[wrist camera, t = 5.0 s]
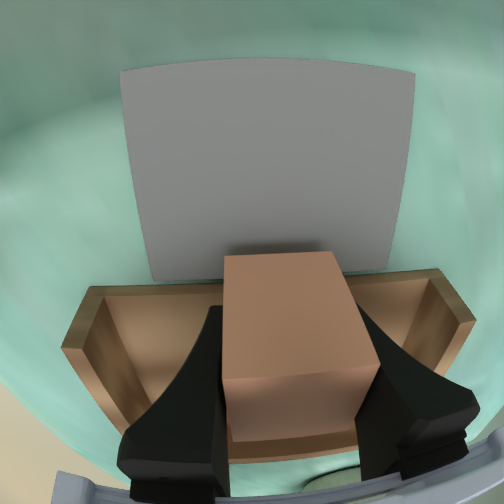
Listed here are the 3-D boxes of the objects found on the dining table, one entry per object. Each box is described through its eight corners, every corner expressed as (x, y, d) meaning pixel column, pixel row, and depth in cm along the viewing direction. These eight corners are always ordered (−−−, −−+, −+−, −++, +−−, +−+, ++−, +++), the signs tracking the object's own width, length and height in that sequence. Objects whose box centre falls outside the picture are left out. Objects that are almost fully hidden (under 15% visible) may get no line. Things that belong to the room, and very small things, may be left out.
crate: (381, 398, 24) (395, 440, 20) (149, 414, 24) (143, 460, 20) (438, 268, 17) (476, 320, 13) (89, 286, 16) (60, 347, 12)
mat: (383, 266, 16) (385, 269, 16) (154, 277, 16) (153, 281, 16) (411, 72, 11) (415, 73, 11) (121, 71, 10) (119, 72, 10)
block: (320, 325, 16) (348, 430, 11) (230, 331, 16) (233, 441, 11) (331, 251, 13) (380, 363, 8) (224, 255, 13) (222, 379, 8)
